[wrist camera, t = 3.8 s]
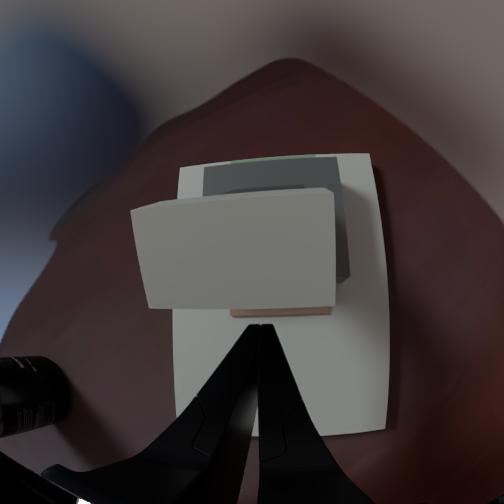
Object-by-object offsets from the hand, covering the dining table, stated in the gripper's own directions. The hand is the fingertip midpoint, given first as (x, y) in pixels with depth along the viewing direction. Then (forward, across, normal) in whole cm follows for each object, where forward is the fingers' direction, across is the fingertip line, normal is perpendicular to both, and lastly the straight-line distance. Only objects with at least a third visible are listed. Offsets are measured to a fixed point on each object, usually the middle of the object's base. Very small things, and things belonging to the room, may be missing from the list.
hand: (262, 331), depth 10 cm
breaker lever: (+7, 0, -2) cm, 8 cm away
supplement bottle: (+1, +22, +12) cm, 25 cm away
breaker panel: (+8, 0, +5) cm, 9 cm away
